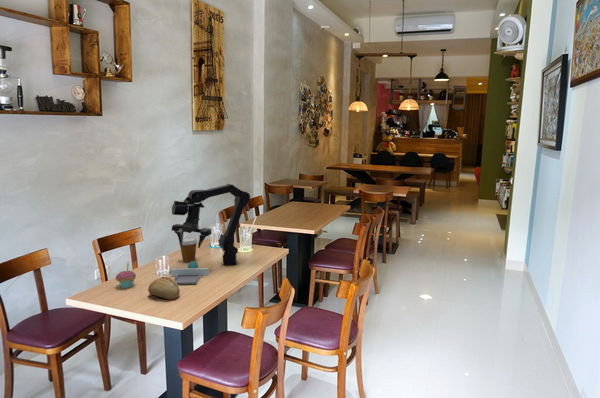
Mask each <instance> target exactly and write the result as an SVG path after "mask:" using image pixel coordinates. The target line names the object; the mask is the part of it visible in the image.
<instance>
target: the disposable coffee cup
mask: <svg viewBox="0 0 600 398" xmlns="http://www.w3.org/2000/svg"><path fill="white" fill-rule="evenodd" d="M197 243H198V240H197V238H196V237H192V236H191V237H183V242H182V245H180V242H179V241H178V244H179V247H180V252H181V257H182V262H183V263H184V264H186V263H187V264H189V263H190V262H191V261H195V262H196V250H197Z"/></svg>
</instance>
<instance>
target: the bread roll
mask: <svg viewBox="0 0 600 398" xmlns="http://www.w3.org/2000/svg"><path fill="white" fill-rule="evenodd" d="M174 279H175V278H172V277H168V276H161V277H160V278H157V279H154V280H153V281H151V283H150V284H149V285H148V289H147V291H148V293H149V294H150V295H152V296H155V297H160V298H163V299H167V300H175V299H177V298H178V297H179V296H180V292H181V291H180V290H181V289H180V287H179V285H178V284H177V282H176V281H175V280H174Z"/></svg>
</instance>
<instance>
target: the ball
mask: <svg viewBox="0 0 600 398" xmlns="http://www.w3.org/2000/svg"><path fill="white" fill-rule="evenodd" d="M187 264H188V265H187V268H199V263H198V262H197V261H196V260H195V261H191V262H190V263H187Z"/></svg>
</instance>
